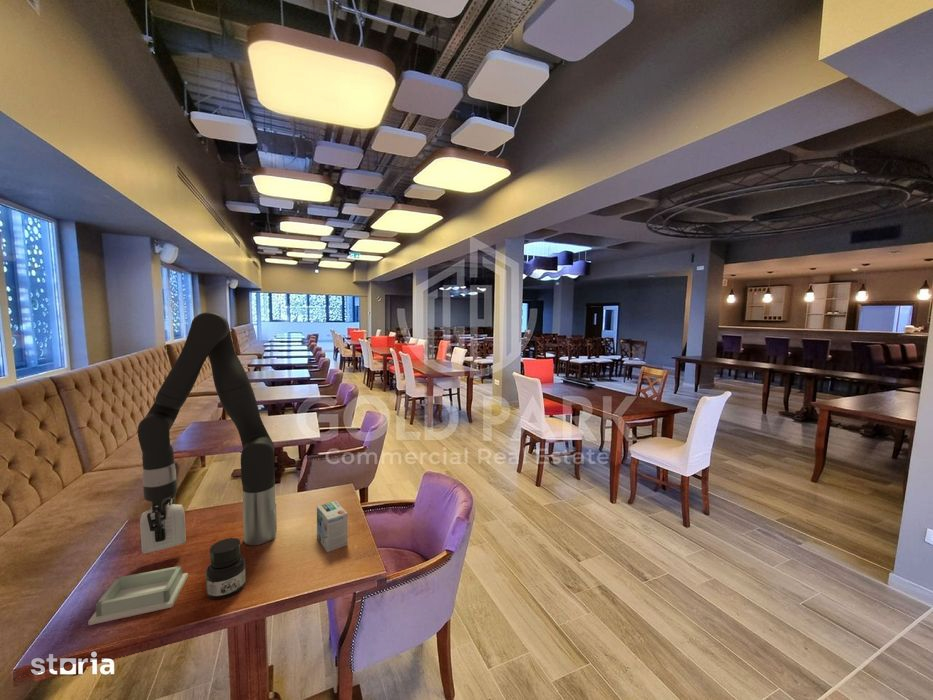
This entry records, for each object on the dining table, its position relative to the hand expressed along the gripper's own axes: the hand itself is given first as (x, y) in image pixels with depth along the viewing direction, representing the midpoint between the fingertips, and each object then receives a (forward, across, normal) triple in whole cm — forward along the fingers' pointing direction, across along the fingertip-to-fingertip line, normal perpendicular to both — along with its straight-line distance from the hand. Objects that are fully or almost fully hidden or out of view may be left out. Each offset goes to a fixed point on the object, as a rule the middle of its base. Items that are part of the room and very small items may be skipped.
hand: (164, 535), depth 110 cm
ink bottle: (+8, -20, -19) cm, 29 cm away
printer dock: (+7, -17, 0) cm, 19 cm away
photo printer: (+4, 0, 0) cm, 4 cm away
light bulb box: (+9, -7, -46) cm, 48 cm away
